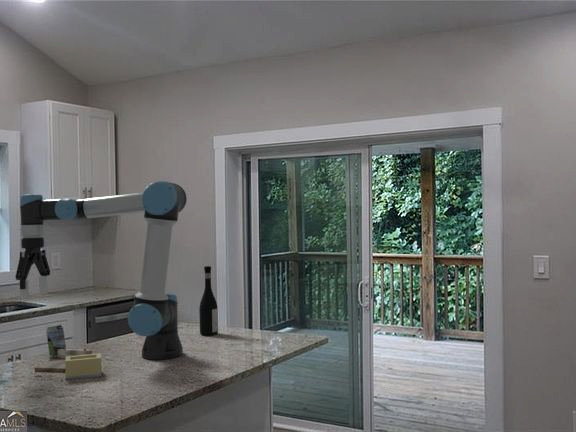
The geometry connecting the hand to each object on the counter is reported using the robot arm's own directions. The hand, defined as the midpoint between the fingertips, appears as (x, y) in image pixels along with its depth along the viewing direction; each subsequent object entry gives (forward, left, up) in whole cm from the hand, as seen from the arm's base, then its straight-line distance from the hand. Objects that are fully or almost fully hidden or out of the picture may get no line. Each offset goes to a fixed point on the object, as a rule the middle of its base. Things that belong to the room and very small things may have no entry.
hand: (34, 296), depth 212 cm
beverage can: (-2, -11, -25) cm, 27 cm away
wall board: (-13, +3, -24) cm, 28 cm away
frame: (-27, +13, -24) cm, 38 cm away
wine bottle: (-47, -57, -25) cm, 78 cm away
